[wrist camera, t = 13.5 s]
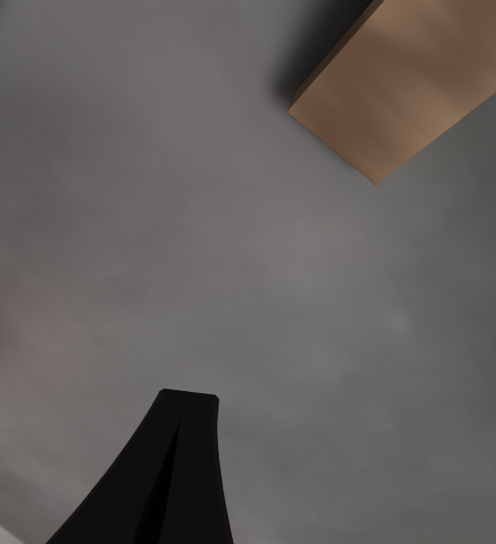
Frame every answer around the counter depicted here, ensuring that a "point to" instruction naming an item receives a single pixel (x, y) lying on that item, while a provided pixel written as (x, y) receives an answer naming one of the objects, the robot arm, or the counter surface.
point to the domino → (400, 80)
